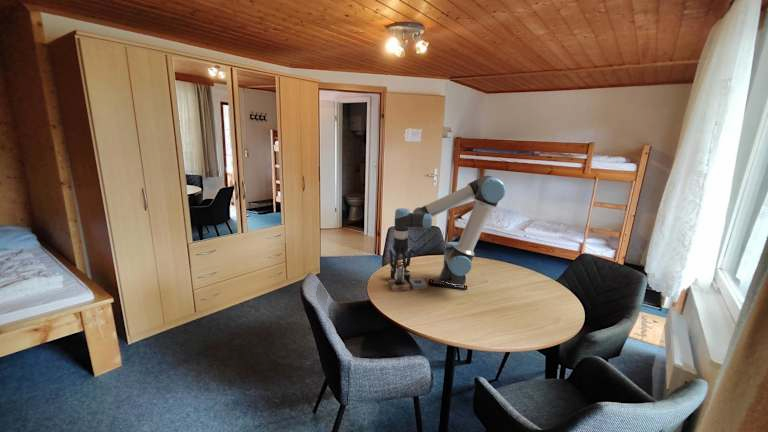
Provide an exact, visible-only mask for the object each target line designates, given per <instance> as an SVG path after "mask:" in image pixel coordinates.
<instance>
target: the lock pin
mask: <svg viewBox="0 0 768 432" xmlns="http://www.w3.org/2000/svg"><path fill="white" fill-rule="evenodd" d="M396 267H397V268H398V270H397V279H396V285H402V269H403V260H398V261H397V266H396Z"/></svg>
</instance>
